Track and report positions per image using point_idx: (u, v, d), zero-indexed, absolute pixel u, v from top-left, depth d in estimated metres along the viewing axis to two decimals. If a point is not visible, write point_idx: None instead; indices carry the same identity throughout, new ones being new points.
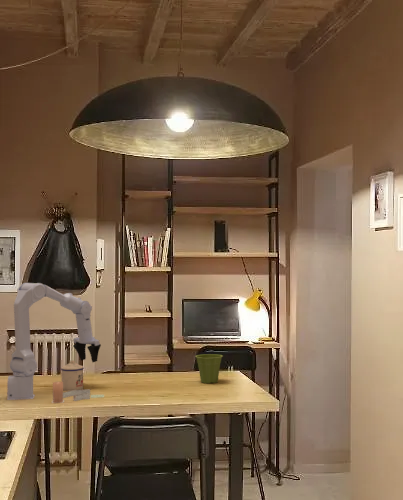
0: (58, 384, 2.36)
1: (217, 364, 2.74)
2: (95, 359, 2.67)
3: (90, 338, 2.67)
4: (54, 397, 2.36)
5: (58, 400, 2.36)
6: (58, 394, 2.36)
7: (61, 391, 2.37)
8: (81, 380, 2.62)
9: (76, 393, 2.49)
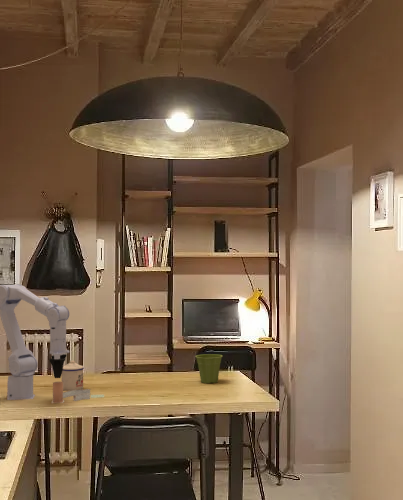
0: (58, 384, 2.36)
1: (217, 364, 2.74)
2: (57, 375, 2.33)
3: (58, 350, 2.35)
4: (54, 397, 2.36)
5: (58, 400, 2.36)
6: (58, 394, 2.36)
7: (61, 391, 2.37)
8: (81, 380, 2.62)
9: (76, 393, 2.49)
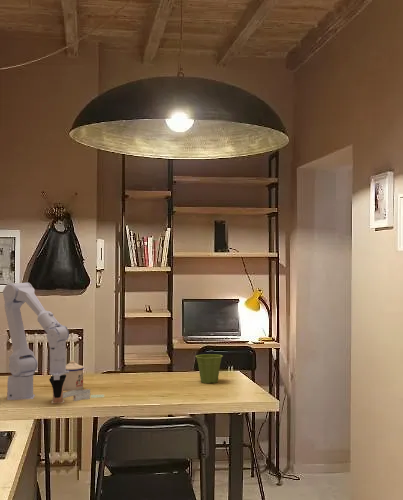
0: None
1: (217, 364, 2.74)
2: (57, 395, 2.35)
3: (57, 371, 2.35)
4: (54, 397, 2.36)
5: (58, 400, 2.36)
6: None
7: None
8: (81, 380, 2.62)
9: (76, 393, 2.49)
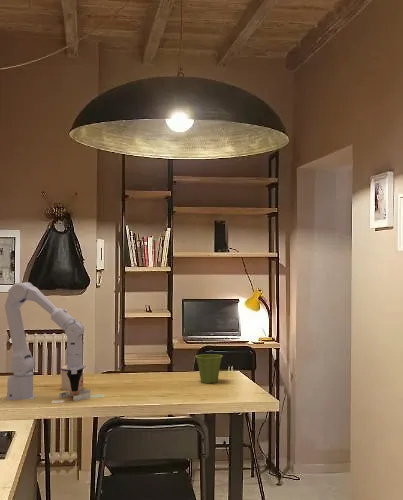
0: None
1: (217, 364, 2.74)
2: (74, 388, 2.42)
3: (74, 365, 2.42)
4: (71, 391, 2.43)
5: (75, 393, 2.42)
6: None
7: None
8: (81, 380, 2.62)
9: None
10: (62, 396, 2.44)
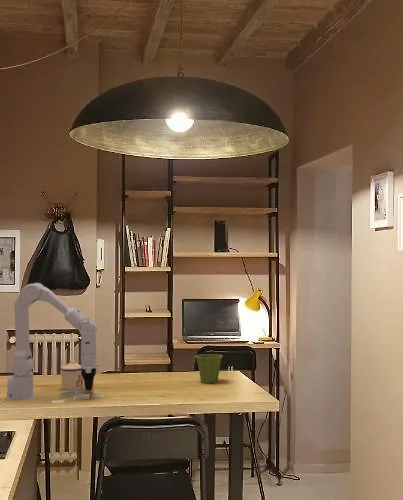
0: None
1: (217, 364, 2.74)
2: (88, 387, 2.44)
3: (88, 364, 2.44)
4: (85, 389, 2.45)
5: (89, 392, 2.45)
6: None
7: None
8: (81, 380, 2.62)
9: (76, 393, 2.49)
10: (62, 396, 2.44)
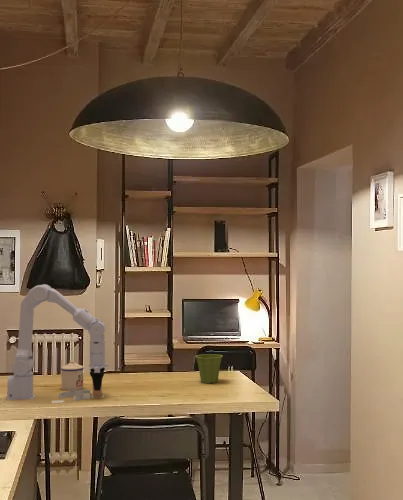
0: None
1: (217, 364, 2.74)
2: (97, 388, 2.43)
3: (97, 364, 2.44)
4: (94, 392, 2.45)
5: (98, 394, 2.45)
6: None
7: None
8: (81, 380, 2.62)
9: (76, 393, 2.49)
10: (62, 396, 2.44)
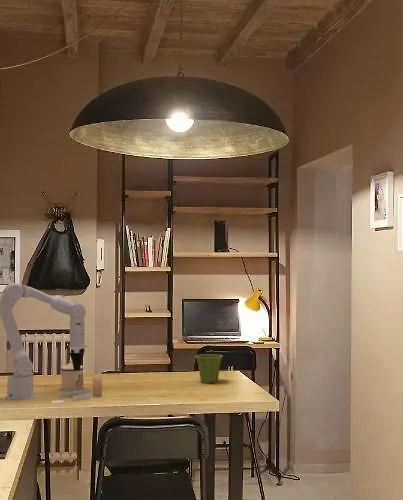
0: (98, 379, 2.45)
1: (217, 364, 2.74)
2: (77, 368, 2.49)
3: (77, 345, 2.50)
4: (94, 392, 2.45)
5: (98, 394, 2.45)
6: (98, 388, 2.45)
7: (100, 386, 2.46)
8: (81, 380, 2.62)
9: (76, 393, 2.49)
10: (62, 396, 2.44)
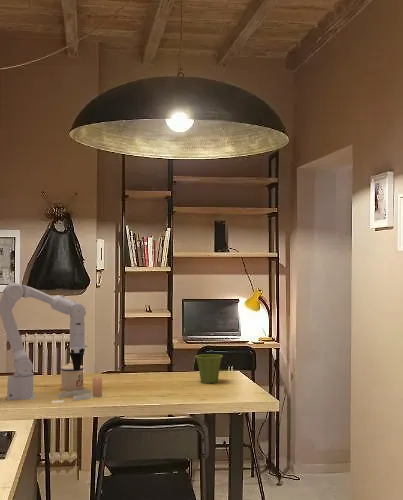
0: (98, 379, 2.45)
1: (217, 364, 2.74)
2: (77, 368, 2.49)
3: (77, 345, 2.50)
4: (94, 392, 2.45)
5: (98, 394, 2.45)
6: (98, 388, 2.45)
7: (100, 386, 2.46)
8: (81, 380, 2.62)
9: (76, 393, 2.49)
10: (62, 396, 2.44)
